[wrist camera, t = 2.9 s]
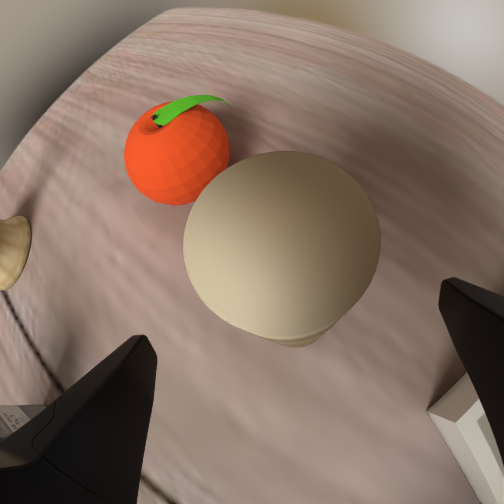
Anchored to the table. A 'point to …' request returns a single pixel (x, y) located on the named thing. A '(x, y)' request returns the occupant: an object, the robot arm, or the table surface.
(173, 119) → the clementine
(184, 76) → the table surface
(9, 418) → the label tape cartridge
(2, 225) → the hand bell
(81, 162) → the table surface
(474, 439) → the tray
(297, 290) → the peg
